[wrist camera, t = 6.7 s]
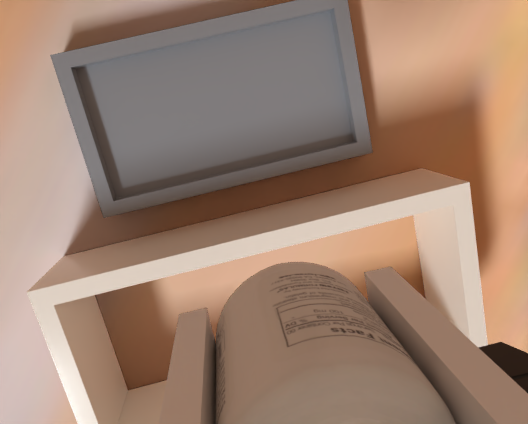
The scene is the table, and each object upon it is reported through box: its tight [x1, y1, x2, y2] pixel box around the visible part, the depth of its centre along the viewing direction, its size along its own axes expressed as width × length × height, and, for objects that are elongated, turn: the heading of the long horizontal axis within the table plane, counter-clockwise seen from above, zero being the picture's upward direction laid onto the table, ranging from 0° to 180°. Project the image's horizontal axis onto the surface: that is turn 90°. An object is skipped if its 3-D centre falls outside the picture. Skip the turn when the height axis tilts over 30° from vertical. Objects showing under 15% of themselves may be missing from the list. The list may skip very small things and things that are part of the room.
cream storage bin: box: [27, 168, 488, 424], centre depth 26 cm, size 23×11×6 cm, turn 103°
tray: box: [50, 0, 373, 218], centre depth 25 cm, size 16×9×2 cm, turn 103°
